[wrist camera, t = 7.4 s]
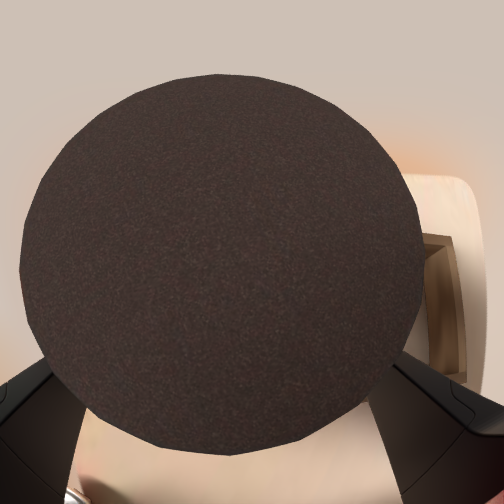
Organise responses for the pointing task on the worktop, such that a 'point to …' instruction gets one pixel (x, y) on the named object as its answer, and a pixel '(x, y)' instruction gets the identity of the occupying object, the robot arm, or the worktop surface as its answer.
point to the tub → (444, 309)
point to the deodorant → (222, 264)
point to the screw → (75, 497)
